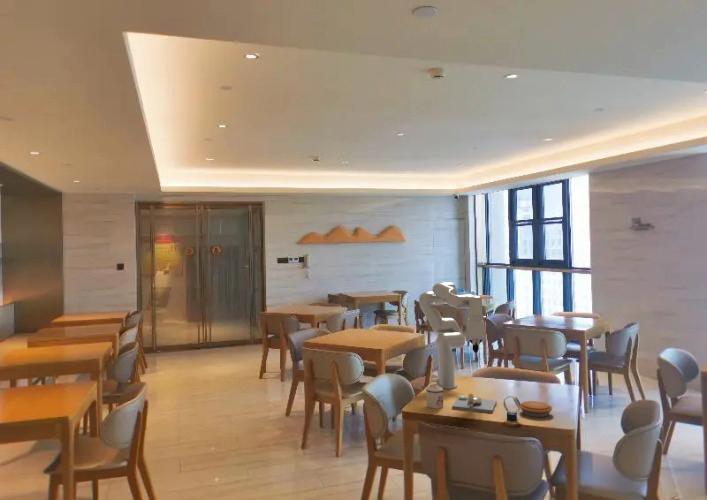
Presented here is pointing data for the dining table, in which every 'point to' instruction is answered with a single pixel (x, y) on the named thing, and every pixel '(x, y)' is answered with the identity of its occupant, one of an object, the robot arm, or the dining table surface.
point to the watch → (512, 414)
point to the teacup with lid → (434, 396)
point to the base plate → (485, 406)
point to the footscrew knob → (473, 400)
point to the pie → (535, 409)
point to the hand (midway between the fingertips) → (475, 351)
